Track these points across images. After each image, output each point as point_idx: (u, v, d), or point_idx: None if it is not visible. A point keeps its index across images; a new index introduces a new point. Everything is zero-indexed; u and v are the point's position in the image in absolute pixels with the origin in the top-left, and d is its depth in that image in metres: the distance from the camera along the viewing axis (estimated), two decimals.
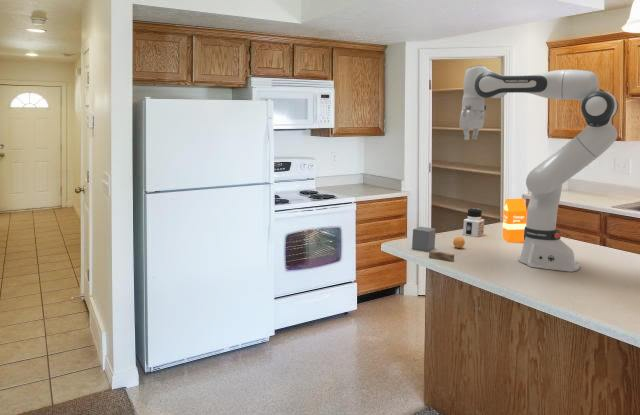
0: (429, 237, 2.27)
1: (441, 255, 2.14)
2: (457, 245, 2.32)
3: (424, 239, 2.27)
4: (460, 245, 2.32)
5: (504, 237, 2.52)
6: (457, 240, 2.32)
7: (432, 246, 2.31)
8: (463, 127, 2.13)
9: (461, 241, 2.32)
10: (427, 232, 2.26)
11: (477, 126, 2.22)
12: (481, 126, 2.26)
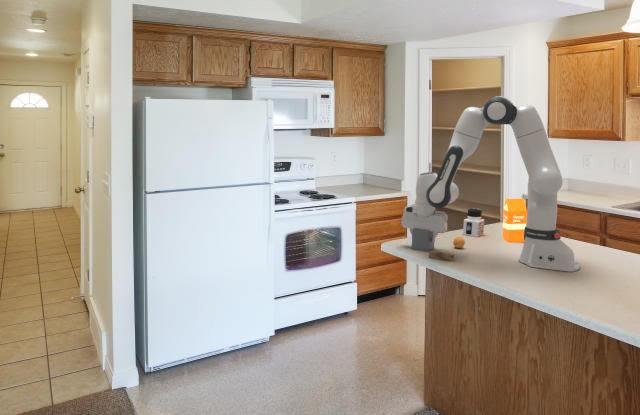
0: (429, 237, 2.27)
1: (441, 255, 2.14)
2: (457, 245, 2.32)
3: (423, 239, 2.28)
4: (460, 245, 2.32)
5: (504, 237, 2.52)
6: (457, 240, 2.32)
7: (432, 246, 2.31)
8: (445, 231, 2.25)
9: (461, 241, 2.32)
10: (427, 232, 2.26)
11: None
12: None
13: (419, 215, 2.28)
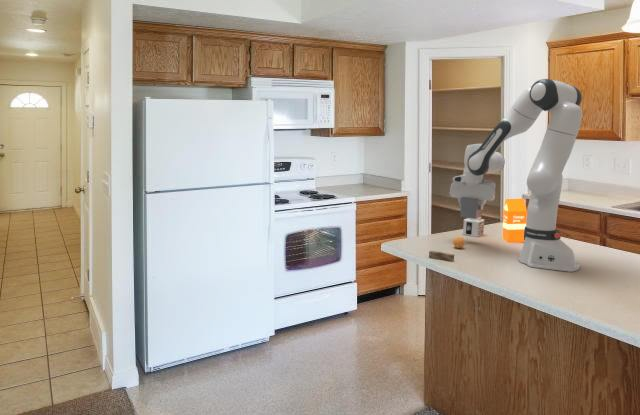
0: (477, 205, 2.38)
1: (441, 255, 2.14)
2: (457, 245, 2.32)
3: (472, 206, 2.38)
4: (460, 245, 2.32)
5: (504, 237, 2.52)
6: (457, 240, 2.32)
7: (479, 214, 2.42)
8: (493, 199, 2.36)
9: (461, 241, 2.32)
10: (475, 200, 2.37)
11: None
12: None
13: (468, 184, 2.39)
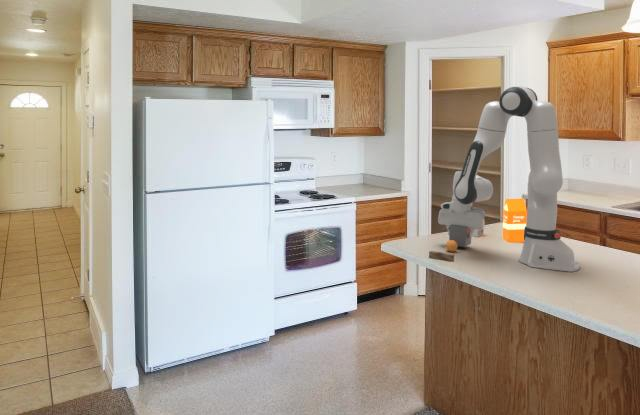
0: (466, 233, 2.30)
1: (441, 255, 2.14)
2: None
3: (461, 234, 2.30)
4: None
5: (504, 237, 2.52)
6: None
7: (469, 241, 2.34)
8: (482, 228, 2.28)
9: None
10: (464, 228, 2.29)
11: None
12: None
13: (456, 212, 2.31)
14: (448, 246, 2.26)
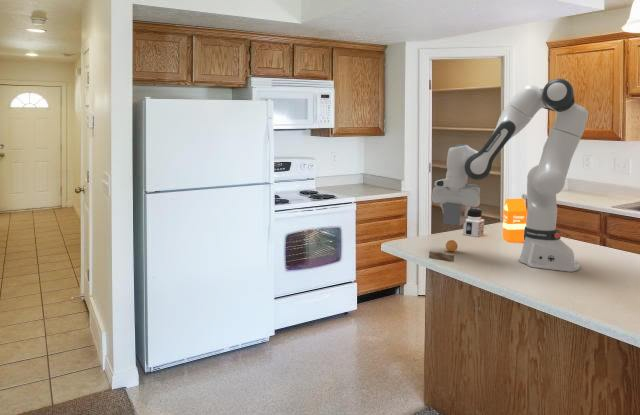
0: (461, 211, 2.21)
1: (441, 255, 2.14)
2: None
3: (456, 212, 2.21)
4: None
5: (504, 237, 2.52)
6: None
7: (463, 220, 2.25)
8: (477, 205, 2.19)
9: None
10: (459, 205, 2.20)
11: None
12: None
13: (450, 189, 2.22)
14: (448, 246, 2.26)
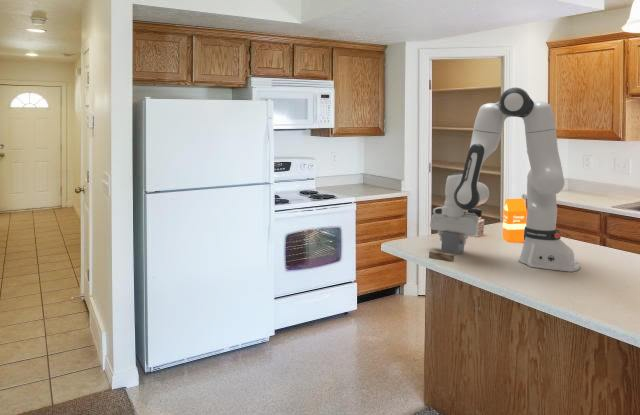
0: (459, 240, 2.23)
1: (441, 255, 2.14)
2: None
3: (454, 241, 2.23)
4: None
5: (504, 237, 2.52)
6: None
7: (462, 249, 2.27)
8: (475, 233, 2.21)
9: None
10: (457, 235, 2.22)
11: None
12: None
13: (449, 217, 2.24)
14: None
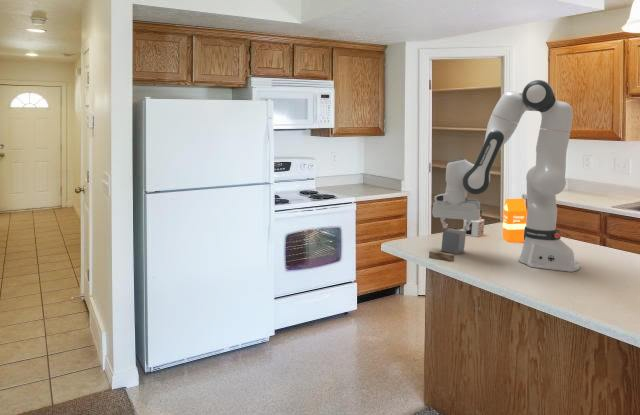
0: (460, 240, 2.23)
1: (441, 255, 2.14)
2: None
3: (454, 241, 2.23)
4: None
5: (504, 237, 2.52)
6: None
7: (462, 249, 2.27)
8: (478, 219, 2.20)
9: None
10: (458, 235, 2.22)
11: None
12: None
13: (450, 203, 2.23)
14: None
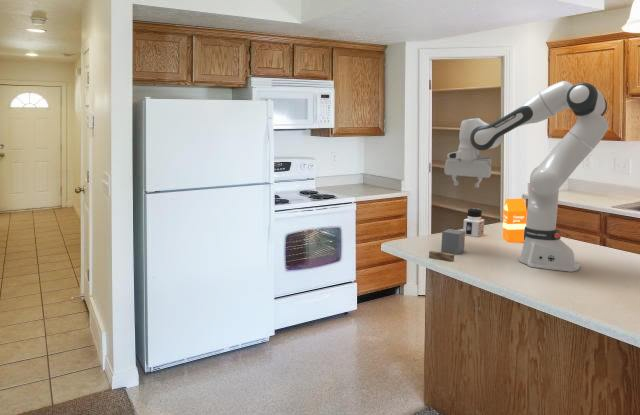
0: (459, 240, 2.23)
1: (441, 255, 2.14)
2: None
3: (454, 241, 2.23)
4: None
5: (504, 237, 2.52)
6: None
7: (462, 249, 2.27)
8: (489, 176, 2.28)
9: None
10: (457, 235, 2.22)
11: None
12: None
13: (463, 161, 2.30)
14: None
